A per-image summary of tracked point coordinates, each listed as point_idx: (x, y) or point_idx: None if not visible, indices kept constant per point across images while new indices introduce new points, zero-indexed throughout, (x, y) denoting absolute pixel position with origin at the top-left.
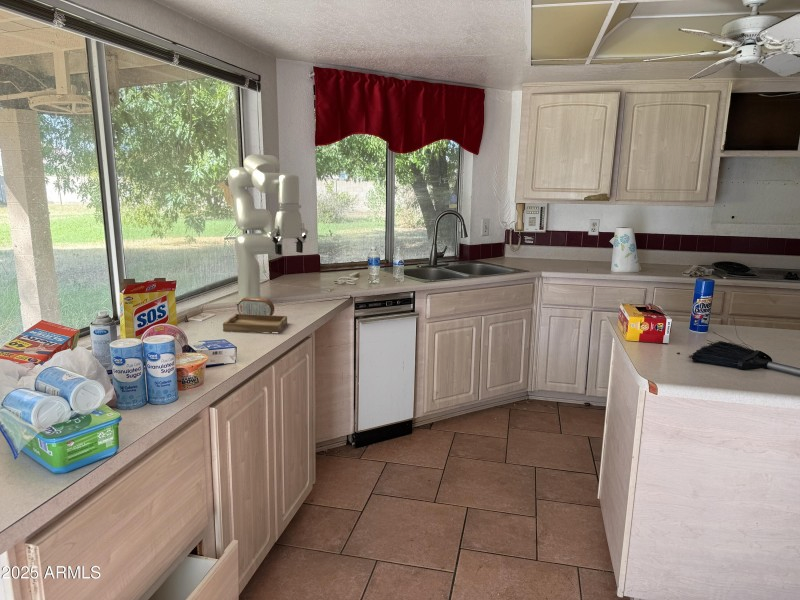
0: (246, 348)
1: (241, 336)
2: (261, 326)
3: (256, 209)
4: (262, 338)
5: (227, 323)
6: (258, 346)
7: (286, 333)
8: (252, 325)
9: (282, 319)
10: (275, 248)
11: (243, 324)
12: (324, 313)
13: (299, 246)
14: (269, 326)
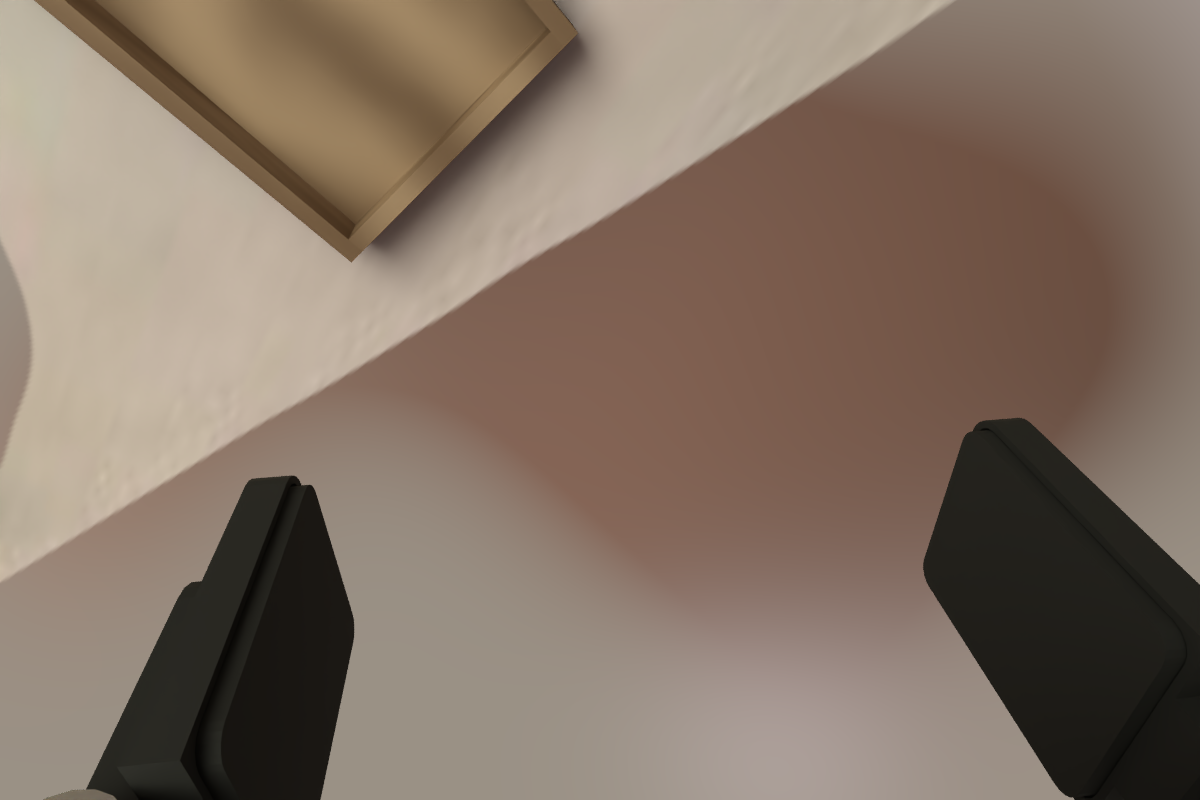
0: (53, 381)
1: (72, 130)
2: (239, 164)
3: None
4: (218, 266)
5: None
6: (140, 388)
7: (423, 262)
8: (165, 106)
9: (482, 110)
10: (157, 677)
11: (82, 38)
12: None
13: (1023, 653)
14: (297, 214)
